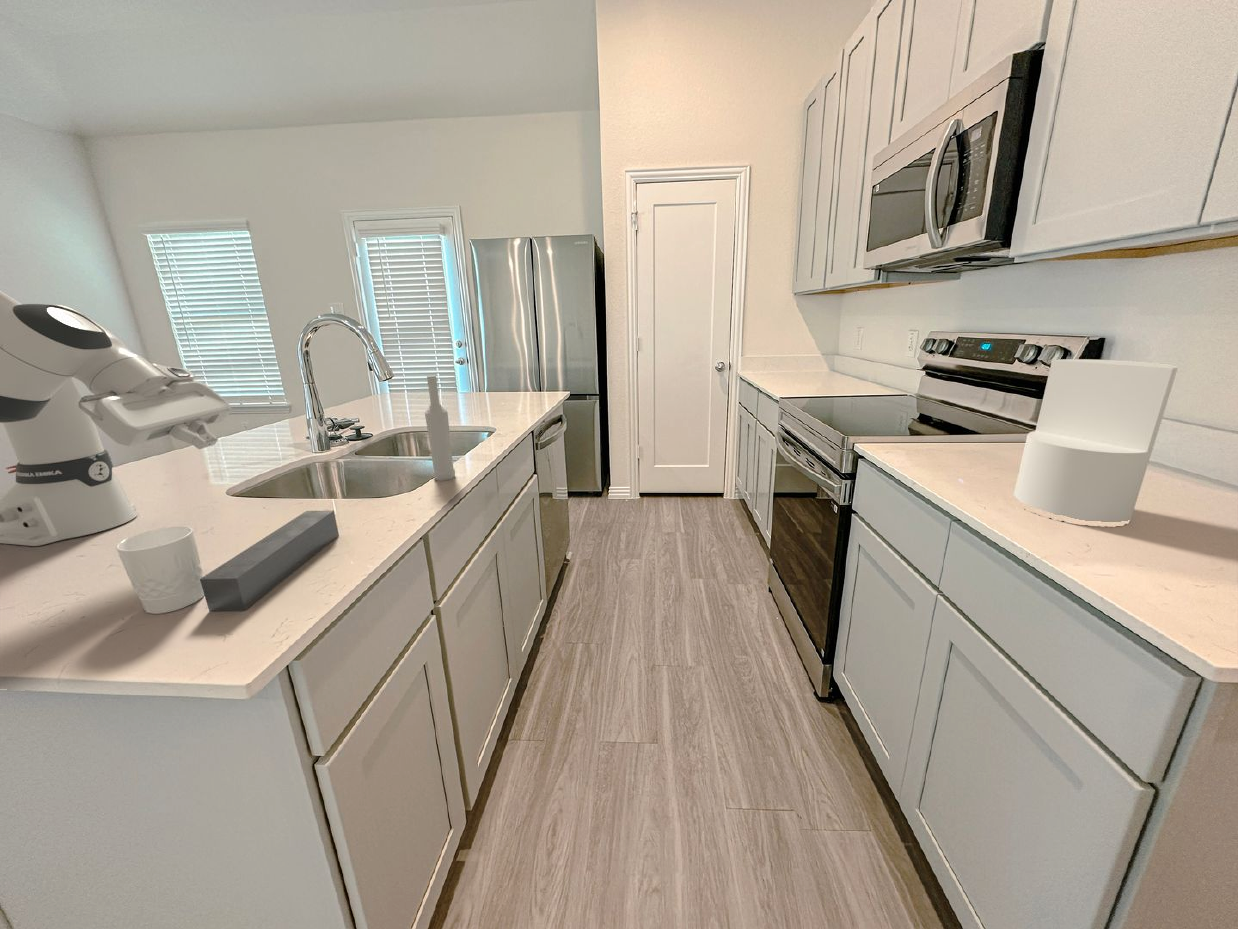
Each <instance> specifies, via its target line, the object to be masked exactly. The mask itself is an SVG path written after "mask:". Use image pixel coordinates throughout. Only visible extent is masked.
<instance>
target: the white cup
mask: <svg viewBox="0 0 1238 929" xmlns="http://www.w3.org/2000/svg"><path fill="white" fill-rule="evenodd" d="M194 534H195V533H194V529H193V528H192V526H191V527H190V526H187V525H175V526H174V525H173V526H166V527H165V526H164V527H158V528H154V529H151V530H147V531H144V532H140V533H137V534H133V535H131V536H130V537H127V538H125V539H123V540H121V541H120V542H118V543H117V545H116V547H115V549H116V552H117V553H118V556H119V558H120V561H121V563H122V565H123V568H124V570H125V572H126V575H127V577H128V579H129V581H130V583H131V586H132V588H133V590H134V593H135V594H136V596H137V597H138V598H139V601H140V604H141V607H142V608H143V610H144V611H145V612H146V613H147V614H155V615H159V614H167V613H172V612H175V611H177V610H181V609H182V610H183V609H184V608H186V607H188V606H189V607H190V606H191V605H193V604H195V603H197V602H198V601H200V600H201V599H202V598H203V597H205V595H204V592H203V589H202V585H201V582H200V579H201V578H202V577H203V570H202V566H201V560H200V555H199V550H198V546H197V542H196V538H195V535H194Z"/></svg>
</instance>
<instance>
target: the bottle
mask: <svg viewBox="0 0 1238 929" xmlns="http://www.w3.org/2000/svg"><path fill="white" fill-rule="evenodd" d="M426 380H427V385H428V393H429V394H428V395H429V401H430V404H429V405H428V406H429V407H428V409H426V411H425V412H424V416H425V423H426V428H427V435H428V440H429V441H428V442H429V449H430V454H431V461H432V468H433V471H432V474H433V478H434V480H435V481H443V482H444V481H449V480H452V479H454V478H455V476H456V470H455V468H454V463H453V462H454V460H453V453H452V444H451V443H452V442H451V434H450V423H449V422H450V421H449V415H448V414H449V412H448V410H447V409H446V408H445V407H443V406H442V404H441V403H440V398H439V397H440V396H439V392H438V390H439V389H438V382H437V381H438V380H437V375H427V376H426Z"/></svg>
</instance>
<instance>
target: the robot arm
mask: <svg viewBox="0 0 1238 929" xmlns="http://www.w3.org/2000/svg"><path fill="white" fill-rule="evenodd" d="M73 378H74V379H76V380H78V381H80V382H82V383H83V384H84V385H85V386H86V389H88V390H89V391H90V392H91V393H92V394H91V395H90V394H88V395H85V396H82V395H81V394H80V392H79V390H78V388H77V387H76V384H75V383H74V380H73ZM195 378H196V374H194V373H193V372H192V370H191V371H190V370H189V369H187V368H182V367H171V366H165V365H161V364H159V363H154V362H153V363H151V362H149V361H148V360H147V359H145V358H144V357H143V356H141V355H139V354H136V353H135V352H133V351H131V350H130V349H129V348H128V347H127V346H126V344H125V343H124V342H123V341H122V340H121V339H120V338H119V337H117V335H114V333H112V332H111V331H110V330H108V329H107V328H105V327H103V326H102V325H101V324H100V323H98V322H96V321H95V320H93V319H92V318H89V317H88V316H86V315H85V314H82V313H81V312H79V311H77V310H76V309H73V308H72V307H70V306H66V305H64V304H57V303H55V304H54V303H52V304H51V303H50V304H49V303H47V304H43V303H42V304H41V303H39V304H38V303H25V304H24V303H21V302H20V301H18V300H16V299H15V298H13V297H12V296H10V295H8V294H7V293H5V292H3V291H2V290H0V423H1V424H3V426H4V428H5V431H6V434H7V436H8V438H9V441H10V444H11V445H12V448H13V450H14V454H15V456H16V458H17V460H18V462H17V463H16V464H15V465H13V466H12V465H11V466H8V467H6V468H5V469H6V470H9V469H11V470H10V471H8V472H7V473H8V474H13V473H15V484H14V485H13V486H12V487H11V488H10V489H9V490H8V491H7V492H6V493H5V494H3V495H2V496H1V497H0V544H6V545H7V544H8V545H16V546H18V545H19V546H27V547H28V546H31V547H37V546H43V545H47V544H51V543H55V542H60V541H63V540H68V539H74V538H78V537H83V536H87V535H91V534H95V533H98V532H99V533H100V532H103V531H107V530H110V529H113V528H116V527H118V526H121V525H123V524H125V523H128V522H130V521H131V520H133V519H134V518H136V517H137V516H138V512H137V510H136V508H137V507H136V504H135V502H130V500H129V497H128V495H127V493H126V490H125V489H124V487H123V484H122V483H121V481H120V479H119V477H118V475H117V474H116V473H115V472H114V471H113V468H114V464H113V462H112V457H111V455H110V454H109V452H108V450H106V449H105V448H104V446H103V443H102V440H101V436H100V434H99V431H98V428H99V429H100V430H101V431H102V432H104V434H105V435H107V436H108V437H109V438H110V439H111V440H113V441H114V442H116V443H117V444H119V445H122V446H127V447H132V446H135V445H139V444H142V443H146V442H150V441H153V440H157V439H161V438H165V437H169V436H171V437H173V438H174V439H176V440H179V441H182V442H184V443H187V444H191V445H193V446H194V447H195V448H196V449H198V450H203V449H206V448H208V447H212V446H214V445H216V444H217V442H218V440H219V439H218V437H217V436H216V435H214V434H213V433H212V432H211V430H210V428H209V427H210V425H214V424H217V423H221V422H224V421H225V419H226V418H227V417H228V416H229V414H230V413H231V412H232V407H231V404H230V403H229V402H228V401H227V400H226V399H225V398H224V397H222V396H221V395H220V394H218V393H219V392H217V391H216V390H214V389H212V387H210V386H208V385H207V384H205V383H203V382H201V381H199V380H195Z"/></svg>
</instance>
